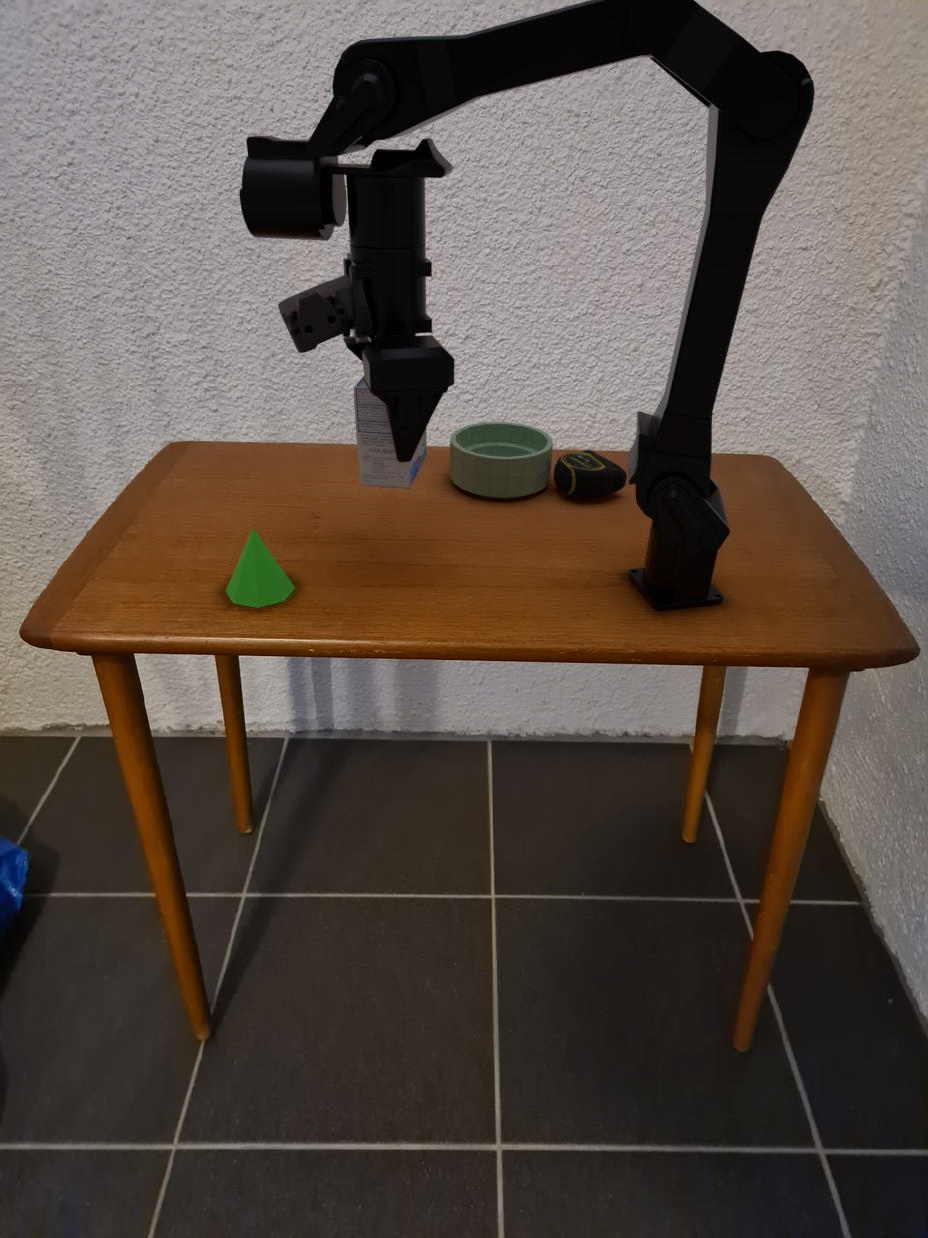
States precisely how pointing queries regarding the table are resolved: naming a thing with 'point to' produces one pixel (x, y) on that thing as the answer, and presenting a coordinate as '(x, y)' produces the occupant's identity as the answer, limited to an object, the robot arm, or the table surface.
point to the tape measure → (588, 475)
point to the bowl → (500, 459)
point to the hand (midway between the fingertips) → (394, 441)
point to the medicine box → (381, 444)
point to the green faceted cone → (258, 577)
